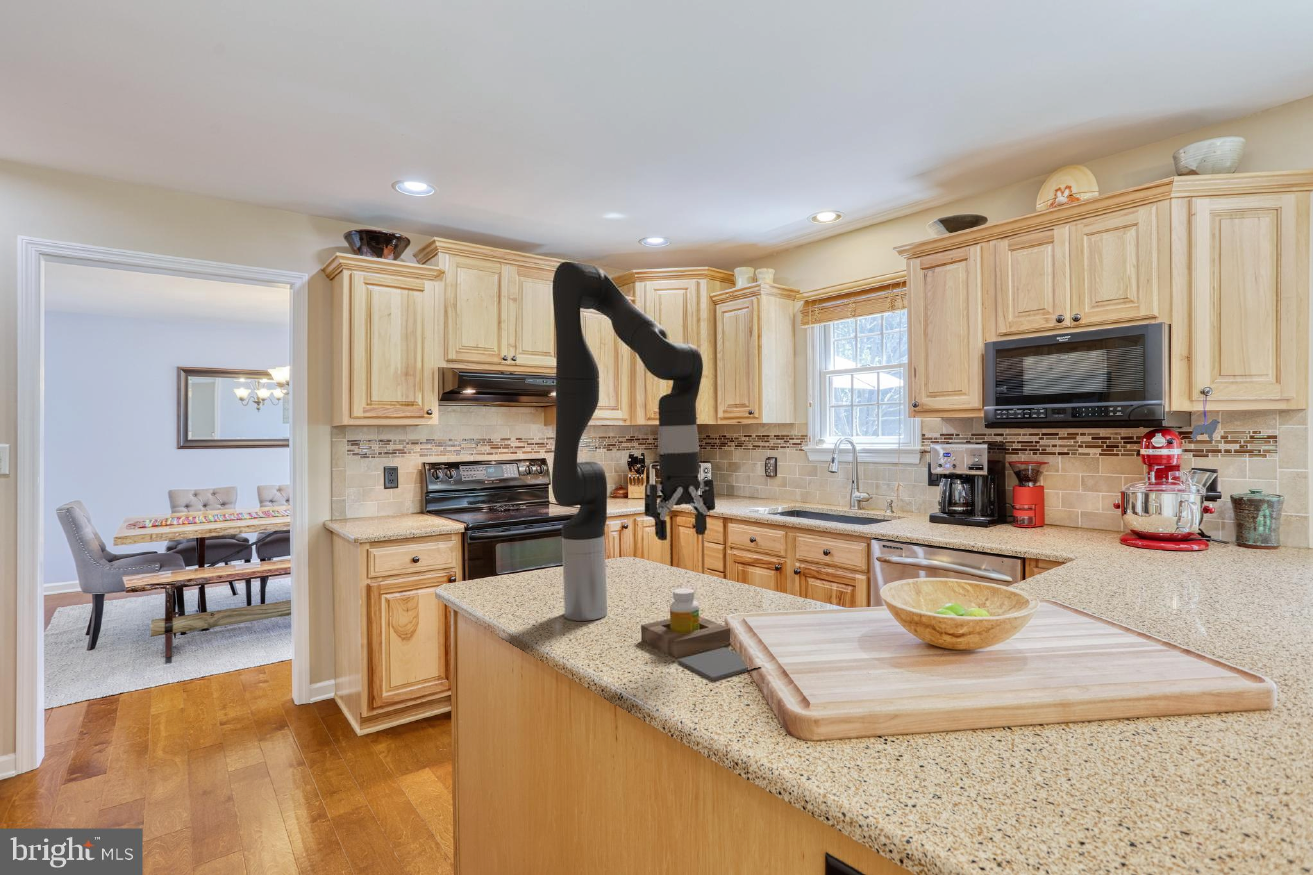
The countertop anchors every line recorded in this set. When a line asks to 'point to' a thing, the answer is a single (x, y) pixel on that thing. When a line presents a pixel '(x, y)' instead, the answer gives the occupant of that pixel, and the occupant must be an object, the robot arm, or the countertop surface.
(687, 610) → the supplement bottle
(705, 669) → the mat
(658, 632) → the frame
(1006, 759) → the countertop surface
